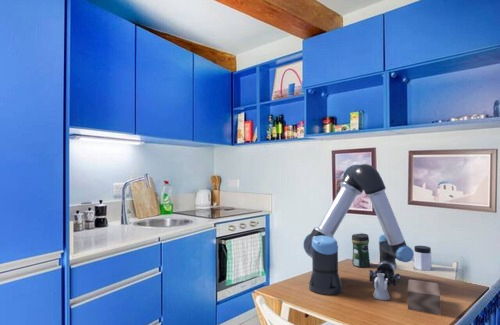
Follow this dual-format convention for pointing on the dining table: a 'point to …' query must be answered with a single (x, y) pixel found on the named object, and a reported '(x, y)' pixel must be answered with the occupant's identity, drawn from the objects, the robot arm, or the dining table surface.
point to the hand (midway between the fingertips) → (380, 285)
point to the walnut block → (424, 296)
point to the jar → (422, 258)
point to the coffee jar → (360, 250)
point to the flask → (381, 289)
